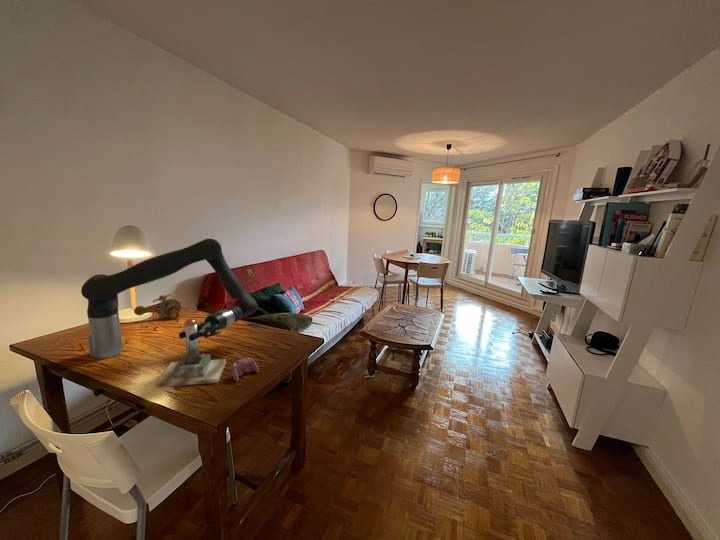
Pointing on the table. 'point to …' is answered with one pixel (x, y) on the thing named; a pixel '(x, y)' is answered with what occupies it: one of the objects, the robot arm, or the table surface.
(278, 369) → the table surface
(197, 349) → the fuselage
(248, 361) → the video game controller
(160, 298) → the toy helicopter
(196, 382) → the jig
